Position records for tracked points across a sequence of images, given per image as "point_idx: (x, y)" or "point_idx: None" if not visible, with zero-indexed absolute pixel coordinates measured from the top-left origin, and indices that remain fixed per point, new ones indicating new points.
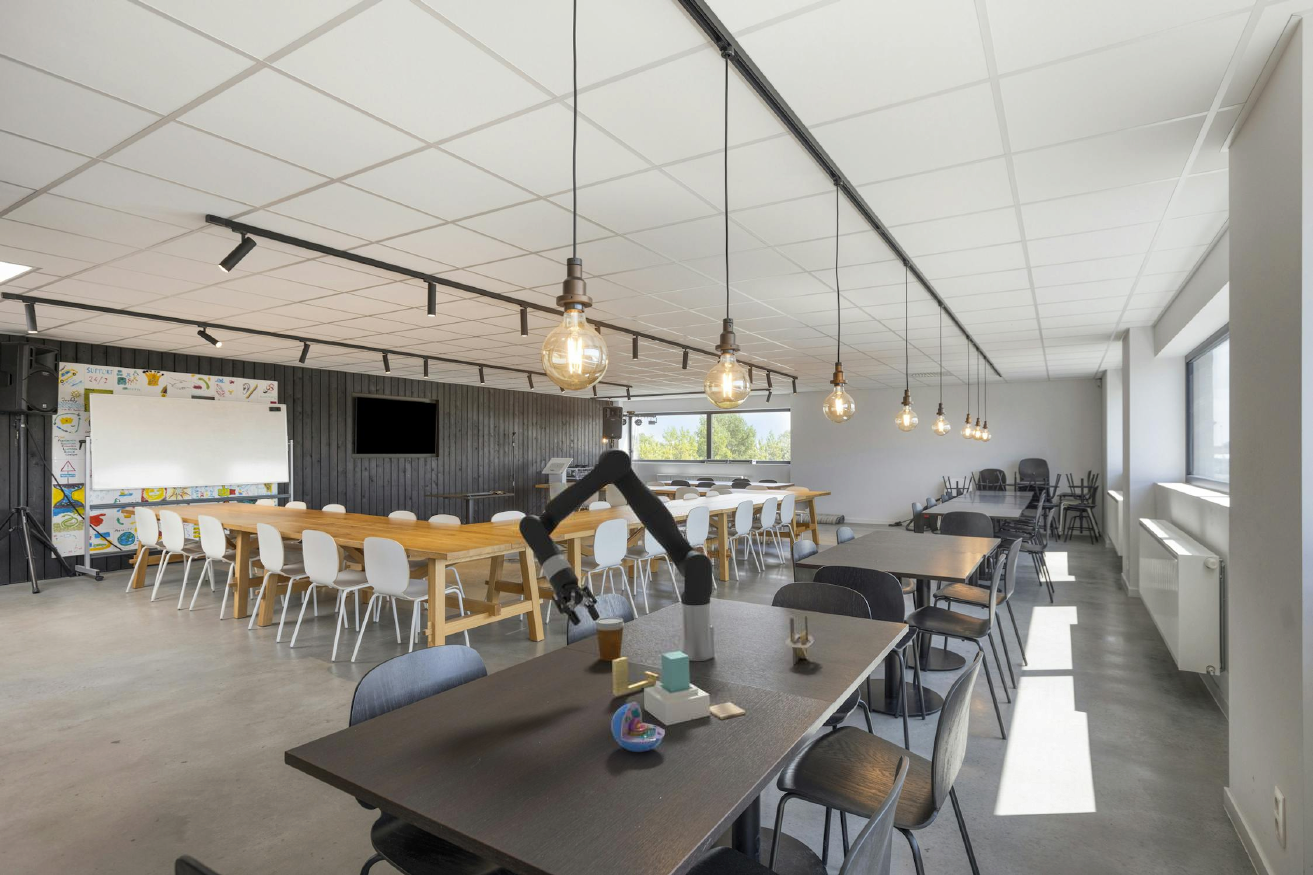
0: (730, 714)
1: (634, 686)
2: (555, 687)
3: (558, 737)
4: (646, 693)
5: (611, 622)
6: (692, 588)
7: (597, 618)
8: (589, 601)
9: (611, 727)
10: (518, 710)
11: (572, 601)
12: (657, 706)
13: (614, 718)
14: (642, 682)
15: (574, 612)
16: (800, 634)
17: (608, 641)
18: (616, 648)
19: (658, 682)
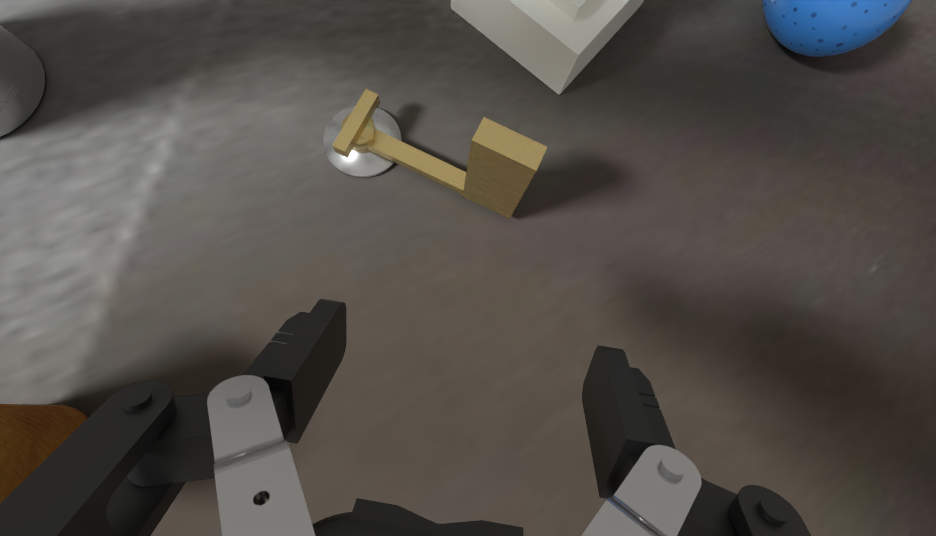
0: None
1: (444, 163)
2: (488, 482)
3: (827, 235)
4: (586, 49)
5: None
6: None
7: (343, 313)
8: (259, 432)
9: (877, 37)
10: (730, 477)
11: (641, 525)
12: (625, 12)
13: (907, 6)
14: (398, 151)
15: (642, 419)
16: None
17: (21, 453)
18: (32, 412)
19: (335, 126)
